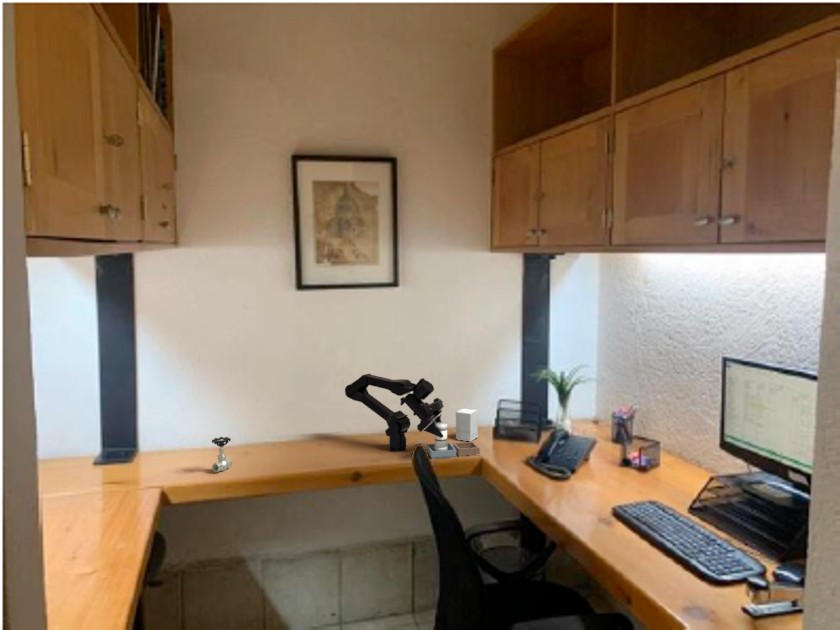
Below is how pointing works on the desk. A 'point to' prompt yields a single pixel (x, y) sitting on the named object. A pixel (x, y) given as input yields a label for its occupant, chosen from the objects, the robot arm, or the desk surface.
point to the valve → (221, 455)
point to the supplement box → (466, 424)
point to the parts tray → (441, 454)
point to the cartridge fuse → (441, 442)
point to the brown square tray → (466, 448)
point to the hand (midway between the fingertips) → (444, 435)
